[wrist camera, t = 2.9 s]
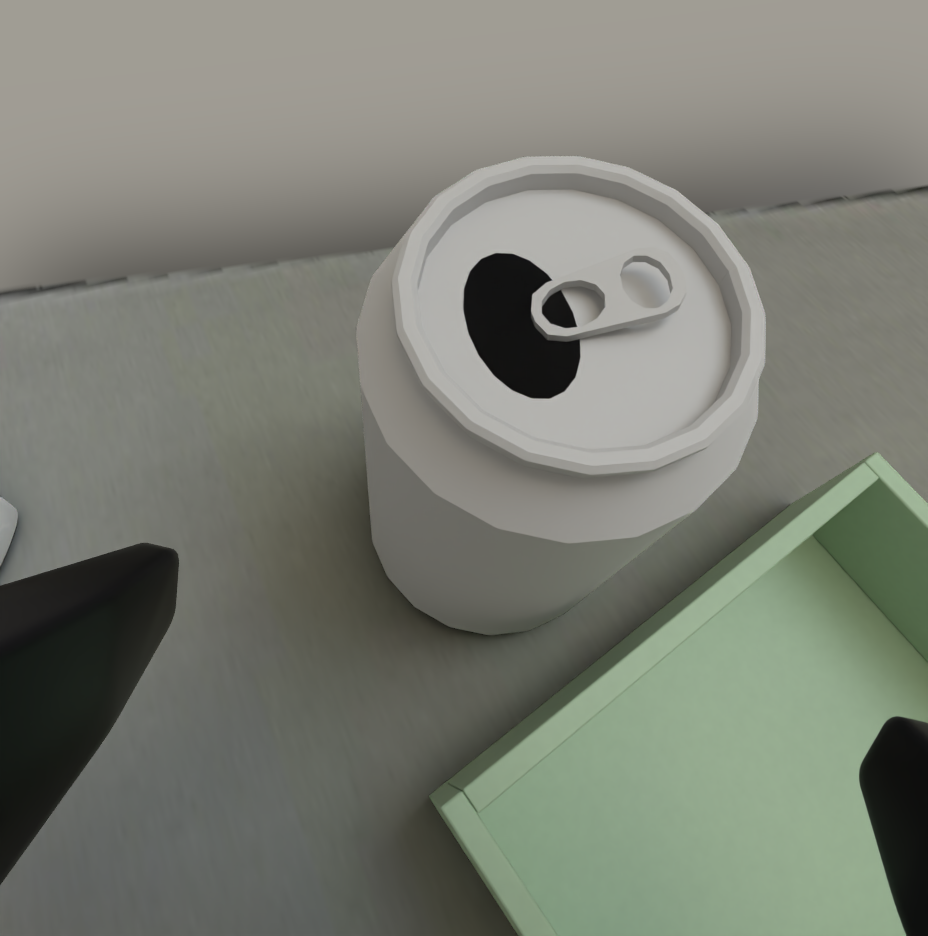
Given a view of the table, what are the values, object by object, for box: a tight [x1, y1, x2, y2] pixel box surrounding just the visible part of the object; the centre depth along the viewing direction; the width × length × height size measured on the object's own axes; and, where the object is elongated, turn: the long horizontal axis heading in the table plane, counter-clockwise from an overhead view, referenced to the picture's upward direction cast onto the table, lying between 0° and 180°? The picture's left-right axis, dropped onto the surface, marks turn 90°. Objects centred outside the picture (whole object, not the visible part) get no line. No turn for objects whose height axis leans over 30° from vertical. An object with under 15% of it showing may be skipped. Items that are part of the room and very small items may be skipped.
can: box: [356, 156, 766, 635], centre depth 16 cm, size 8×8×12 cm
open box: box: [429, 452, 928, 936], centre depth 17 cm, size 15×13×4 cm
